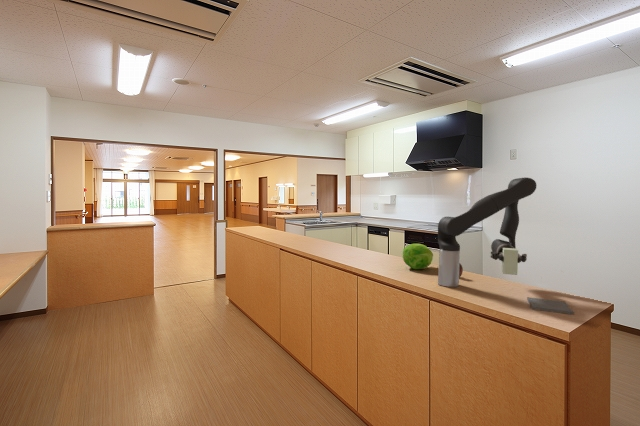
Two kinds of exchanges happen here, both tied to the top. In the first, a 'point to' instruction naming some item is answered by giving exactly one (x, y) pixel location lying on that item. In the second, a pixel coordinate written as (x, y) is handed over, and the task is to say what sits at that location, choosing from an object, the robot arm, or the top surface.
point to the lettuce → (417, 256)
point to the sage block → (510, 261)
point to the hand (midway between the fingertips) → (510, 259)
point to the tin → (460, 269)
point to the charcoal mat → (549, 305)
